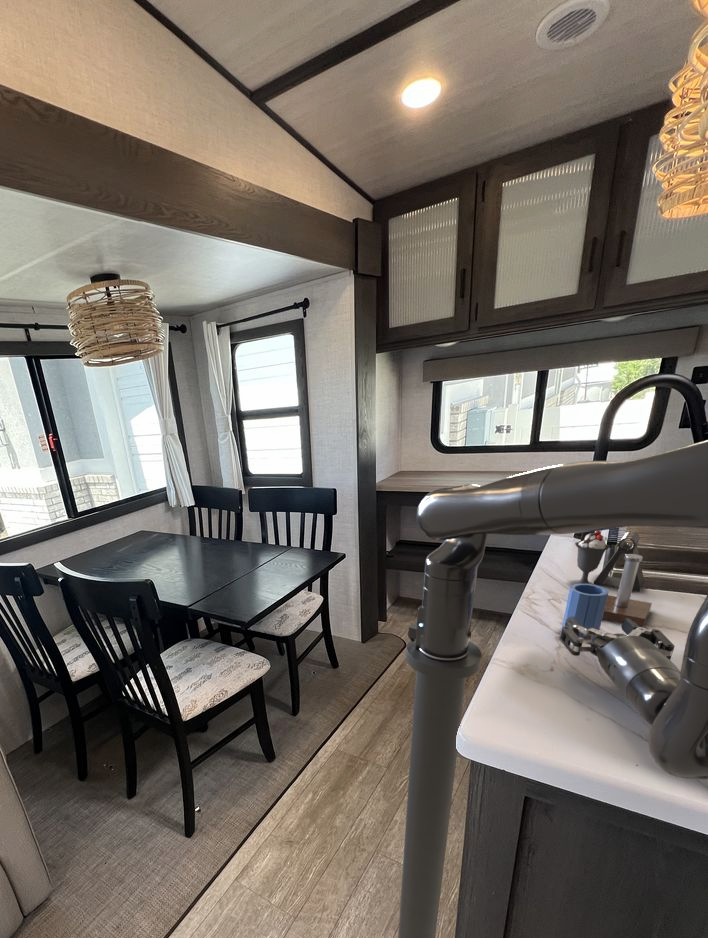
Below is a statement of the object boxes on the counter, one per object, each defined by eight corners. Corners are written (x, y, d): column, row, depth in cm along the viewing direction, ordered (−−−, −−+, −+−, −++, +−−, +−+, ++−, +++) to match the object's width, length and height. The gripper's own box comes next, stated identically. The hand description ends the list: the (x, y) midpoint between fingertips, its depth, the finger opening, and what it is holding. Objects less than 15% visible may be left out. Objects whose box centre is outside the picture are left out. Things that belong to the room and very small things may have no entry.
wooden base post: (588, 616, 97) (601, 558, 92) (597, 601, 103) (611, 546, 98) (642, 628, 92) (659, 566, 86) (649, 611, 97) (666, 553, 92)
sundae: (600, 592, 107) (615, 529, 101) (566, 588, 111) (578, 526, 105) (600, 582, 112) (614, 521, 106) (567, 578, 116) (579, 519, 110)
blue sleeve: (557, 638, 90) (566, 591, 86) (565, 627, 94) (574, 581, 90) (592, 647, 87) (604, 598, 83) (599, 635, 90) (611, 587, 86)
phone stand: (644, 583, 110) (657, 534, 105) (639, 592, 106) (653, 541, 101) (598, 576, 116) (609, 529, 111) (592, 584, 112) (603, 535, 107)
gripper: (706, 652, 65) (649, 604, 80) (590, 646, 69) (555, 601, 83) (690, 696, 68) (638, 642, 83) (580, 688, 72) (548, 638, 86)
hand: (596, 622), depth 83 cm, fingers open, 8 cm apart
